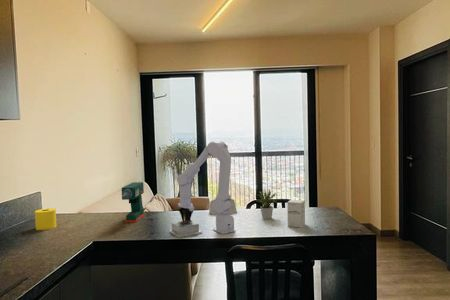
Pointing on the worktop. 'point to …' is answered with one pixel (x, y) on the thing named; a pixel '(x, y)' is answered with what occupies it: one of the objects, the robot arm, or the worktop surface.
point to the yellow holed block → (45, 219)
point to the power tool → (134, 200)
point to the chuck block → (185, 228)
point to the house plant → (266, 204)
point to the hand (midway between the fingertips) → (186, 222)
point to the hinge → (232, 210)
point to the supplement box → (296, 213)
